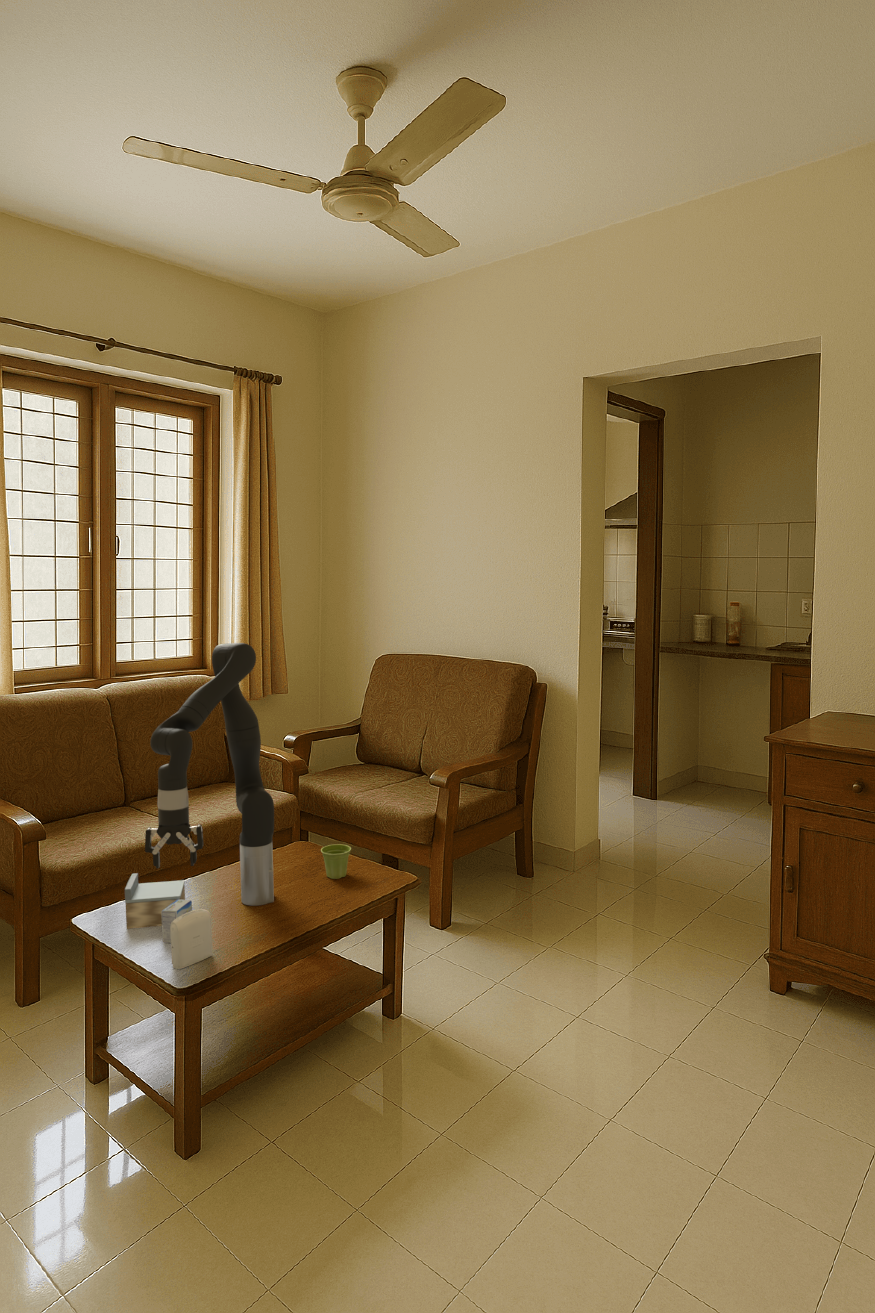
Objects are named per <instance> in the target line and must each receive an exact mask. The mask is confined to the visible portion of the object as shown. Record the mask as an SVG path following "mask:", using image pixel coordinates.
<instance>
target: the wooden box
mask: <svg viewBox="0 0 875 1313" xmlns="http://www.w3.org/2000/svg"><path fill="white" fill-rule="evenodd" d="M185 887H186V886H185V884H184V887H183V891H182V894H181V898H180V899H181V900H186V894H185V893H186V890H185ZM180 899H173V900H160V901H148V902H135V903H125V921H126V923H125V924H126V925H125V926H126V930H130V929H141V928H142V929H143V928H153V927H162V914H161V911H162V910H164V909H165V908H166V907H168V906H169V905H171V904H172V903H173V902H175V901H176V900H180Z"/></svg>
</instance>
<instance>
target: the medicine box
mask: <svg viewBox="0 0 875 1313" xmlns="http://www.w3.org/2000/svg"><path fill="white" fill-rule="evenodd" d="M192 902H193V901H192V900H191V899H185V900H181V899H180V900H176V901H175V902H173V903H172V904H171V905H169V906H168V907H166V908H165V909H164V910H162V911H161V914H162V926H161V930H162V931H161V933H162V934H161V935H162V943H165V944H171V934H170V925H171V923H172V922H173V921H174V920H175V919H176V918H178V917H179V916H181V915H183V914H185V913H187V912H190V911H193V903H192Z"/></svg>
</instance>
